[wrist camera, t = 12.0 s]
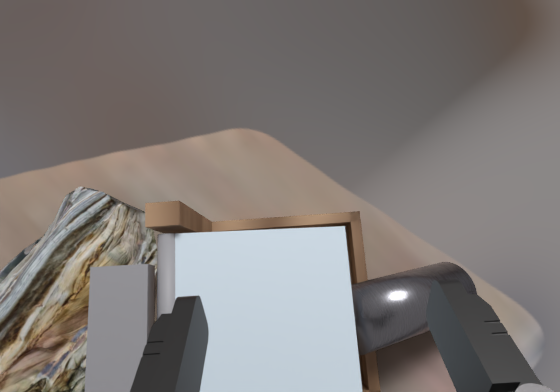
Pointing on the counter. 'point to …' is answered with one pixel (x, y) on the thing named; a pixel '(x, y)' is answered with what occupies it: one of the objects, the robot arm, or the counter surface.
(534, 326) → the counter surface
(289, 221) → the stand
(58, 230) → the rock
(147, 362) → the robot arm
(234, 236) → the trapdoor
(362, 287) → the cylinder
